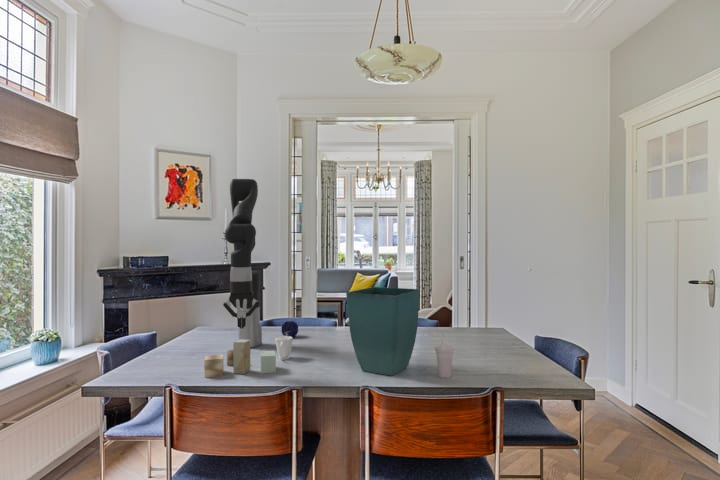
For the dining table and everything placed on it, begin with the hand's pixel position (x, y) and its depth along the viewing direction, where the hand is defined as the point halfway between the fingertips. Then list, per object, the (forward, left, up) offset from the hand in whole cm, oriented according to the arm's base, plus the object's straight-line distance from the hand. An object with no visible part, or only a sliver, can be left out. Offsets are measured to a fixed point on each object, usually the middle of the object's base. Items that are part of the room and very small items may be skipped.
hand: (241, 328), depth 154 cm
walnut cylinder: (-3, -11, -16) cm, 19 cm away
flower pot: (-36, +36, -16) cm, 53 cm away
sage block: (-7, +5, -16) cm, 18 cm away
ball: (-46, -34, -16) cm, 59 cm away
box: (0, 0, -16) cm, 16 cm away
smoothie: (-44, +56, -16) cm, 73 cm away
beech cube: (+8, -5, -16) cm, 18 cm away
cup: (-20, -3, -16) cm, 26 cm away
